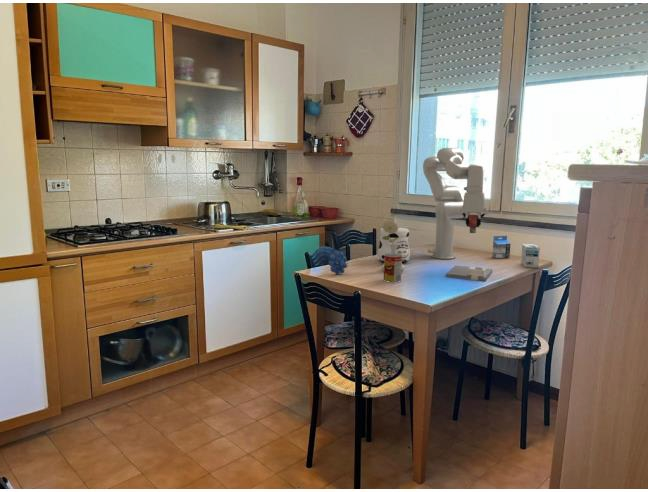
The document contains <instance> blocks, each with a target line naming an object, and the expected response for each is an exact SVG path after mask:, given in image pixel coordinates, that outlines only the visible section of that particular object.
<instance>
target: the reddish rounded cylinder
mask: <svg viewBox="0 0 648 492" xmlns="http://www.w3.org/2000/svg"><path fill="white" fill-rule="evenodd" d="M477 219H478V214H475V213H470V214H469V225H468V226H467V227H468V228H469V234H476V232H477V228H478V227H477Z"/></svg>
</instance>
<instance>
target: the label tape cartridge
mask: <svg viewBox="0 0 648 492" xmlns="http://www.w3.org/2000/svg"><path fill="white" fill-rule="evenodd" d="M491 253H492V254H491V257H492V258H494V259H495V260H496V259H510V255H511V243H510V242H509V240H508V235H493V242H492V252H491Z"/></svg>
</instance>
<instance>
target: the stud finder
mask: <svg viewBox="0 0 648 492" xmlns="http://www.w3.org/2000/svg"><path fill="white" fill-rule="evenodd" d="M469 267H470V268H469V270H468V275H473V276H482V277H484V276H485V275H486V269H487V268H486V267H477V266H469Z"/></svg>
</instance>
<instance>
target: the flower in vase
mask: <svg viewBox="0 0 648 492" xmlns="http://www.w3.org/2000/svg"><path fill="white" fill-rule="evenodd" d="M398 227H399V226H398V224H397V223H396V222H394V221H393V220H392V221H391V220H386V221H384V222H383V223H382V225H381V228H383V229H384V231H385V232H388V233H389V234H390V233H391V234H392V233H396V232H397V231H398V230H397V229H398ZM389 238H390V236H389V237H387V236H384V237H383V238H382V239H384V240H389ZM398 238H399V237H398ZM398 238H395V239H393V240H391V239H390V240H391V242H392V241H394V240H397V239H398ZM389 245H390V247H391V253H396V249H397V246H398V245H399V243H393V242H392V243H389ZM381 268H382V270H384V263H383V264H382V265H381ZM404 270H405V265H404V264H403V263H402V266H401V272H402V271H404Z"/></svg>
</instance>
